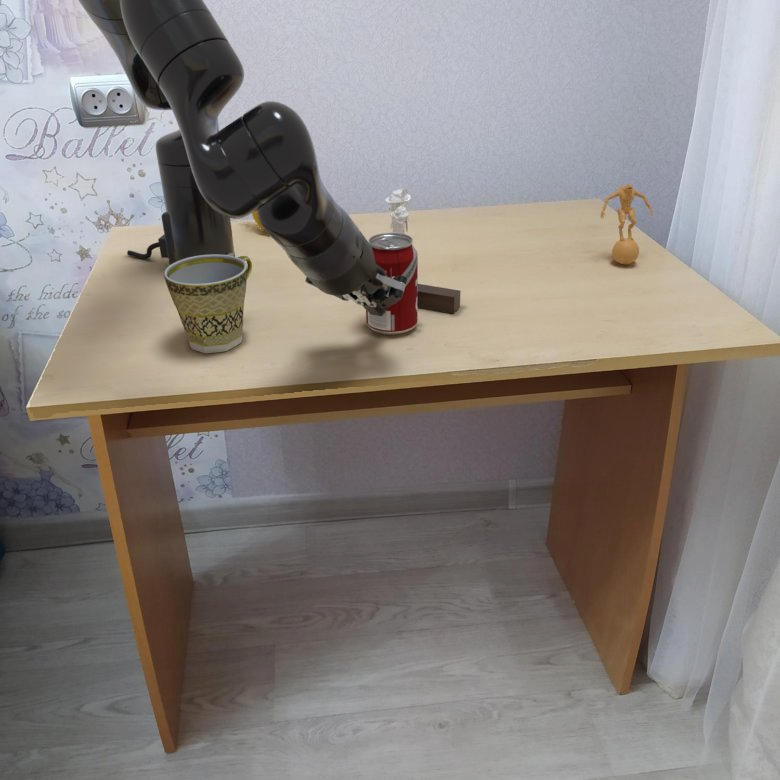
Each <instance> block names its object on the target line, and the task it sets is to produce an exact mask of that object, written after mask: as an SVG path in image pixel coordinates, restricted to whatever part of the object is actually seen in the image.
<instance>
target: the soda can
mask: <svg viewBox="0 0 780 780" xmlns="http://www.w3.org/2000/svg"><path fill="white" fill-rule="evenodd" d="M413 241H414V240H413V238H412V237H411V236H410V235H408V234H401V233H393V232H383V233H377V234H375V235H372V236H371V237H370V238H368V242H369V244H370V245H371V247H372V250H373V253H374V258H375V263H376V265H378V266H379V267H381V268H382V269H383V270H384V271H385V273H386V276H387V277H389V278H391V277H392V276H394V277H397V276H398V275H402V276H405V277H406V278H407V279H408V280H407V283H406V286H405V290H404V293H403V296H402V299H401V300H399V301H398V302H396V303H394V304H393V305H391V306H390V307H388V308H387V310H386V313H385V314H384V313H383V316H382V317H381V316H376V315H371V314H370V313H369V312H368V311H367V310H366V309H365V320H366V326H367V327H368V328H369V329H370V330H372V331H374V332H375V333H378V334H381V335H385V336H397V335H401V334H404V333H407V332H409V331H411V330H413V329H414V328H415V327H416V326H417V324H418V317H419V315H418V314H419V313H418V310H419V308H418V284H419V282H418V281H419V278H418V277H419V276H418V275H419V274H418V273H419V271H418V267H419V266H418V265H419V264H418V263H419V259H418V257H419V254H418V251H417V248H415V246H414V245H413ZM383 288H384V287H383V286H382V289H383Z"/></svg>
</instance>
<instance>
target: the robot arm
mask: <svg viewBox="0 0 780 780" xmlns="http://www.w3.org/2000/svg"><path fill="white" fill-rule="evenodd" d="M78 2H79V3H80V5H81V6H82V8H83V10H84V11H85V13H86V14H87V15H88V17H89V19H91V21H92V22H93V24H94V25H95V26H96V27H97V29H98V30H99V32H100V33H101V34H102V36H103V38H105V40H106V41H107V43H108V45H109V46H110V48H111V49H112V51H113V53H114V54H115V56H116V57H117V60H118V61H119V64H120V65H121V67H122V69H123V72H124V74H125V76H126V77H127V79H128V81H129V84H130V85H131V88H132V90H133V92H134V94H136V97H137V98H138V100H139V101H140V102H141V103H142V104H143V105H144V106H145V107H146V108H148V109H152V110H156V111H172V113H173V116H174V119H175V121H176V124H177V127H178V128H179V129H177V130H174V131H172V132H170V133H167V134H164V135H163V136H161V137H159V138H158V139H157V140H156V142H155V153H156V160H157V165H158V171H159V177H160V184H161V188H162V194H163V200H164V207H165V211H164V212H163V213H162V214H161V224H162V229H163V234H162V235H161V236H160V237H159V238H158V239H157V242H154V243H151V244H150V245H149V246H148V247H147V248H146V253H140V252H137V251H134V250H127V252H126V254H127V256H130V257H134V258H137V259H141V260H148V259H150V258H151V257H152V255H153V254H152V253H153V250H155V249H157V248H159V253H160V257H161V259H168V264H169V266H170V265H171V264H173V263H175V262H177V261H179V260H182V259H185V258H189V257H194V256H200V255H211V254H219V255H229V256H234V257H236V253H235V247H234V237H233V230H232V222H231V219H234V220H240V219H244V218H246V217H248V216H251V215H252V213H253V212H255V211H256V210H257V216H258V219H259V221H260V223H261V225H262V227H263V228H264V229H265V231H264V232H266V233H267V234H268V235H269V236H270V237H271V239H273V241H275V243H276V244H278V246H280V248H281V249H282V250H283V251H284V252H285V253H286V255H287V257H288V258H289V260H290V261H291V262H292V263H293V265H295V266H296V267H297V269H299V271H300V272H302V274H303V275H304V276H305V283H307V284H308V285H311V286H312V287H315V288H317V289H318V290H319V291H321V292H322V293H324V294H326V295H330V296H334V297H336V298H338V299H340V300H342V301H344V302H348V301H352V302H353V303H355V304H356V305H357V306H361V307H363V309H365V311H366V310H367V311H368V312H369V313H370V314H371V315H376V316H381V317H382V316H383V313H384V314H385V313H386V310H387V308H388V307H390V306H391V305H393V304H394V303H396V302H398V301H399V300H401V299H402V296H403V293H404V290H405V286H406V283H407V280H408V279H407V278H406V277H405V276H402V275H398V276H397V277H394V276H392V277H391V278H389V277H387V276H386V273H385V271H384V270H383V269H382V268H381V267H379V266H378V265H376V263H375V258H374V253H373V250H372V247H371V245H370V244H369V240H368V239H367V238H366V237H365V235H364V234H363V233H362V231H361V230H360V228H359V227H358V226H357V224H356V223H355V222H354V220H353V219H352V217H351V216H350V215H349V214H348V212H347V211H345V209H344V208H342V207H341V206H340V205H339V204H338V203H337V202H336V200H335V199H334V197H333V196H332V195H331V194H330V192H329V190H328V189H327V187H326V186H325V185H324V182H323V180H322V178H321V174H320V169H319V164H318V159H317V153H316V148H315V145H314V142H313V138H312V136H311V134H310V131H309V129H308V127H307V125H306V124H305V122H304V120H303V119H302V117H301V116H300V115H299V114H298V113H297V112H296V111H295V110H294V109H293V108H292V107H290V106H288V105H287V104H285V103H281V102H279V101H275V100H273V101H271V100H270V101H264V102H260V103H258V104H257V105H255V106H253V107H252V108H251V109H249V110H248V111H246V112H245V113H243V114H242V115H241V116H239V117H237V118H236V119H235V120H233V121H232V122H231V123H229V124H227V125H226V126H224V127H222V128H221V129H220V124H219V123H220V122H219V116H220V114H221V113H222V111H223V110H224V109H225V107H226V106H227V105H228V103H229V102H230V101H231V100H232V98H233V97H234V96H235V95H236V94H237V93H238V92H239V90H240V88H241V87H242V85H243V83H244V81H245V80H244V79H245V69H244V66H243V64H242V62H241V60H240V57H239V56H238V54H237V53H236V51H235V50H234V48H233V46H232V44H231V43H230V42H229V40H228V39H227V38H228V37H226V35H225V33H224V32H223V30H222V28H221V27H220V25H219V24H218V22H217V20H216V19H215V17H214V16H213V14H212V12H211V11H210V9H209V8H208V6H207V5H206V3H205V2H204V0H78ZM382 286H383V287H384V288H383V289H382Z"/></svg>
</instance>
